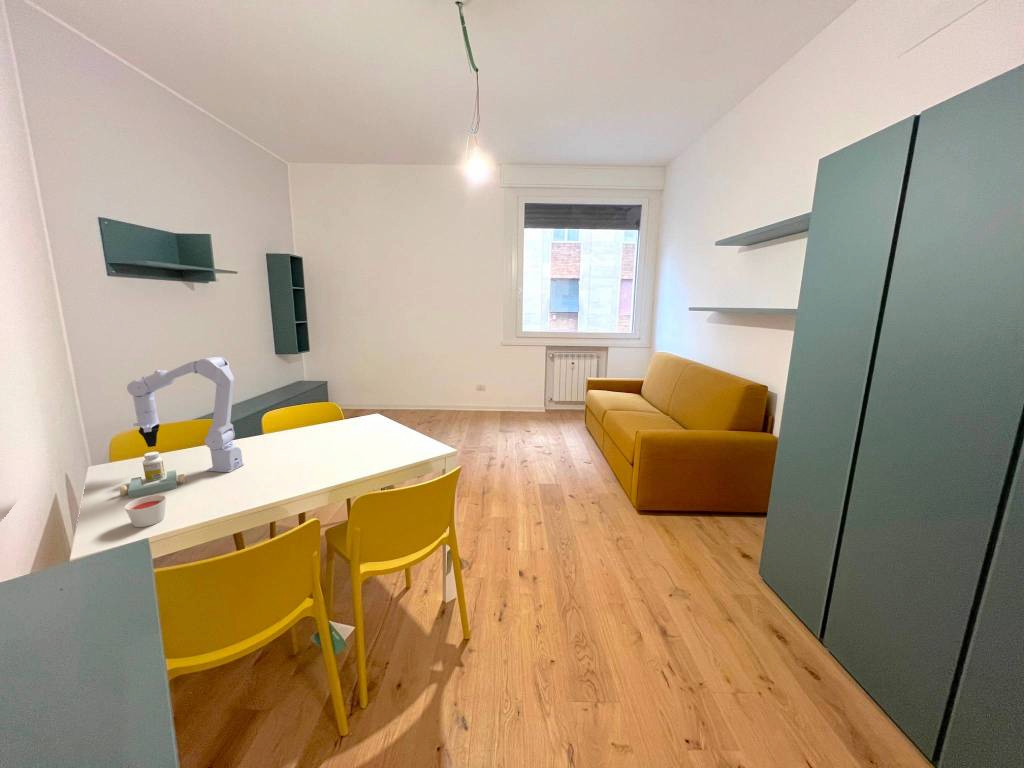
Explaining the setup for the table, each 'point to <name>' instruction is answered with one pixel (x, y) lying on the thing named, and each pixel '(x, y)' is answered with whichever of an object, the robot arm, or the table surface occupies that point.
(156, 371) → the robot arm
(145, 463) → the supplement bottle
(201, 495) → the table surface
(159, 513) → the candle
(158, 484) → the slot block
